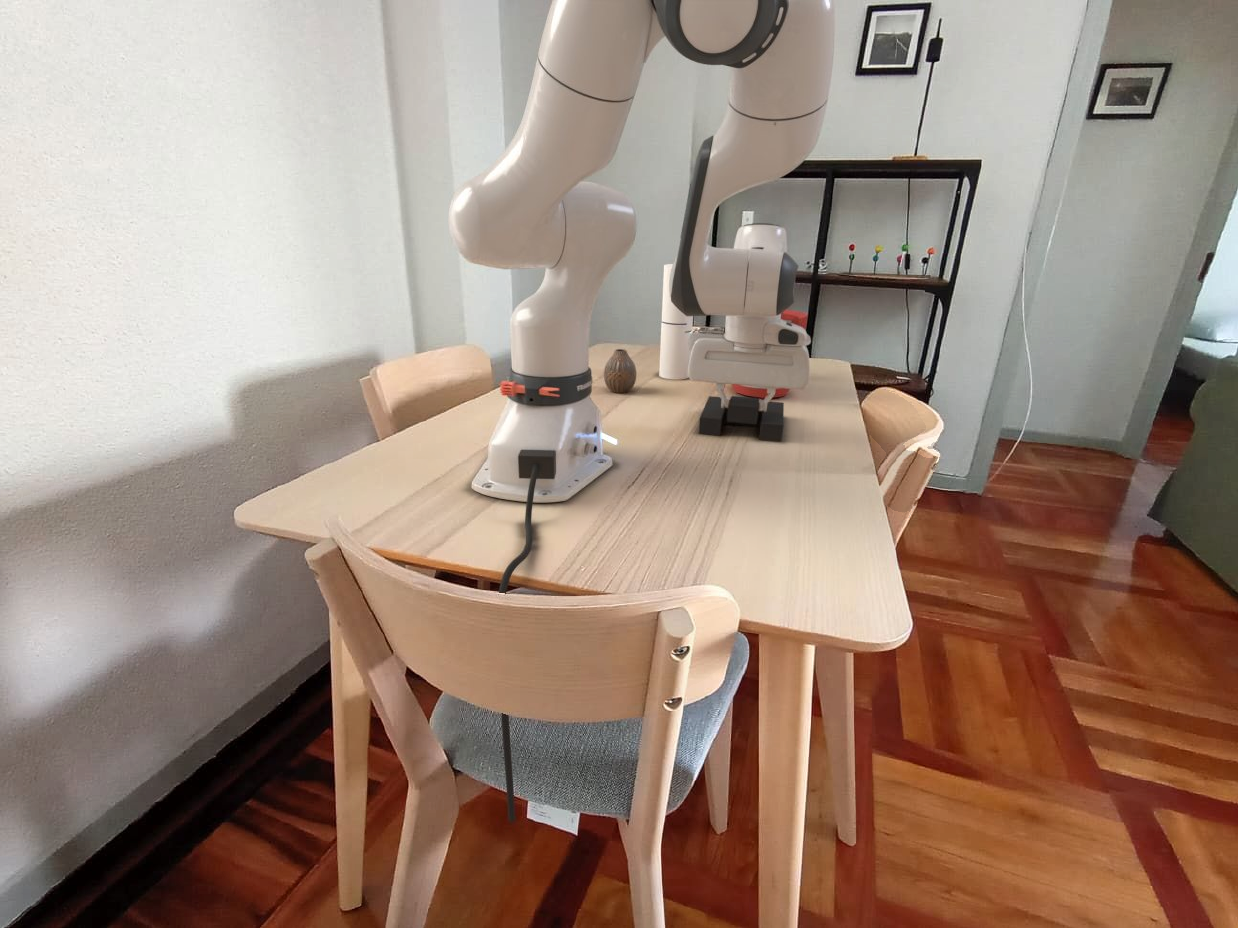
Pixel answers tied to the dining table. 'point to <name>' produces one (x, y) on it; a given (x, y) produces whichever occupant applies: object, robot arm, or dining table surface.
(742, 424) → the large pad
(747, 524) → the dining table surface
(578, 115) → the robot arm
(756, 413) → the small block
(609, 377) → the vase
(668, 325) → the cylindrical container
